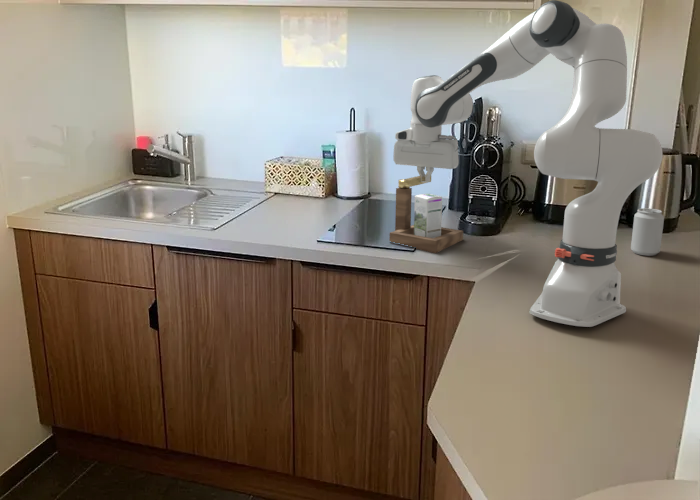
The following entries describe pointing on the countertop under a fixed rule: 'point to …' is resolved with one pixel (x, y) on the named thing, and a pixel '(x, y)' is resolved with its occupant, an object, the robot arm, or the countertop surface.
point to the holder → (406, 231)
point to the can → (647, 231)
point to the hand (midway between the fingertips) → (425, 182)
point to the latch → (410, 182)
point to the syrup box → (427, 215)
